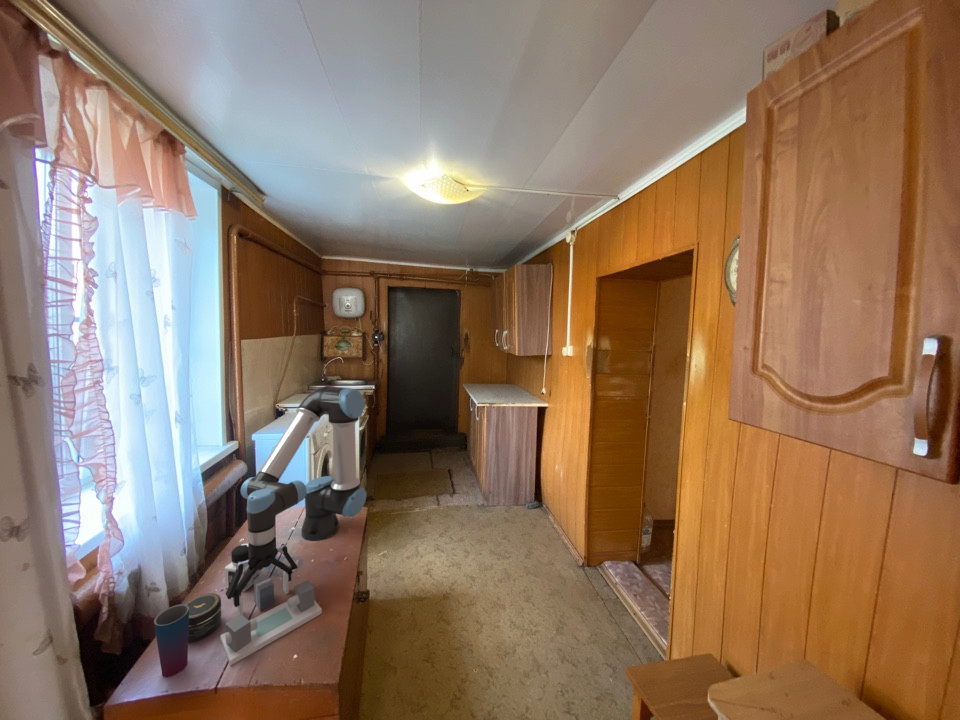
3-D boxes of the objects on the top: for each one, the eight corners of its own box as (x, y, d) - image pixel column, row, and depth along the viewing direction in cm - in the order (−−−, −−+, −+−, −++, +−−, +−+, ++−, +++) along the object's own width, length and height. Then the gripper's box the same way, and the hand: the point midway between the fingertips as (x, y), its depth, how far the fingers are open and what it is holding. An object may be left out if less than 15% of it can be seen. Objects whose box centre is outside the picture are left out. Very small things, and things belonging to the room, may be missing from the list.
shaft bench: (307, 594, 118) (307, 573, 117) (321, 613, 110) (321, 590, 110) (220, 640, 100) (219, 615, 100) (230, 665, 93) (229, 639, 92)
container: (244, 592, 118) (242, 556, 117) (224, 588, 120) (223, 552, 119) (262, 576, 126) (261, 542, 125) (244, 573, 127) (242, 539, 126)
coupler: (254, 601, 115) (253, 580, 114) (268, 594, 118) (267, 574, 117) (260, 611, 111) (259, 590, 110) (274, 604, 114) (273, 583, 113)
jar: (226, 628, 104) (224, 604, 104) (182, 651, 97) (180, 625, 96) (217, 610, 111) (216, 587, 110) (175, 629, 103) (174, 605, 103)
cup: (196, 664, 93) (193, 611, 92) (163, 686, 87) (160, 630, 86) (185, 651, 97) (182, 600, 95) (152, 672, 91) (149, 617, 89)
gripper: (298, 520, 124) (299, 577, 126) (212, 551, 106) (215, 617, 108) (307, 528, 119) (308, 588, 121) (218, 562, 101) (220, 632, 103)
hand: (264, 602), depth 114 cm, fingers open, 12 cm apart
